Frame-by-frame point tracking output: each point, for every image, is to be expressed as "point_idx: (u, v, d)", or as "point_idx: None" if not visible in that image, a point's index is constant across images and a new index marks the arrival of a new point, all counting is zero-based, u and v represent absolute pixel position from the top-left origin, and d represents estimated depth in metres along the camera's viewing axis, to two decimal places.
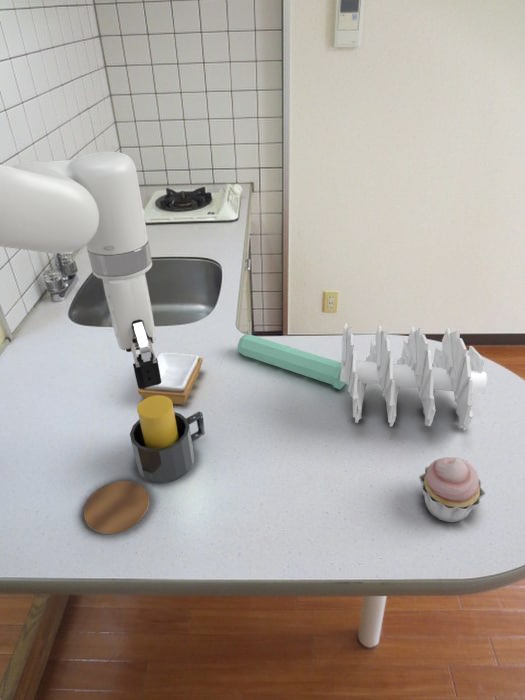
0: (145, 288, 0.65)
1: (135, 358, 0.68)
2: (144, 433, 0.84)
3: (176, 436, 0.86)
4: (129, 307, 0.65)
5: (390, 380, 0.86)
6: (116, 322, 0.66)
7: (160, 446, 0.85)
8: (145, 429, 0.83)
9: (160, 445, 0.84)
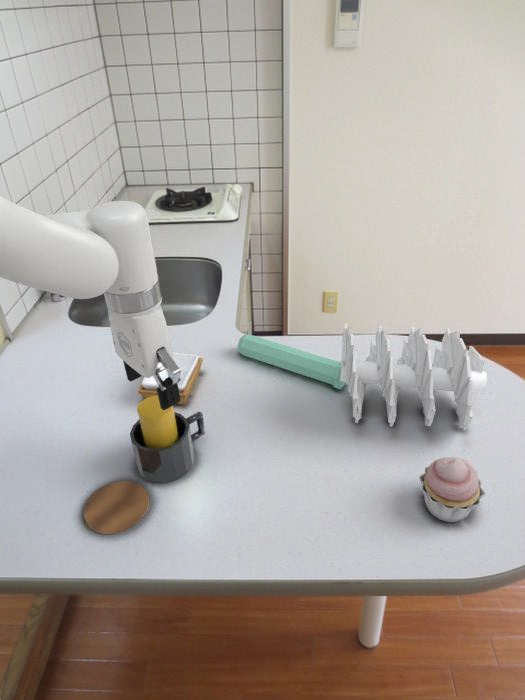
0: (164, 318, 0.72)
1: (161, 382, 0.75)
2: (144, 433, 0.84)
3: (176, 436, 0.86)
4: (154, 337, 0.71)
5: (390, 380, 0.86)
6: (143, 353, 0.72)
7: (160, 446, 0.85)
8: (145, 429, 0.83)
9: (160, 445, 0.84)
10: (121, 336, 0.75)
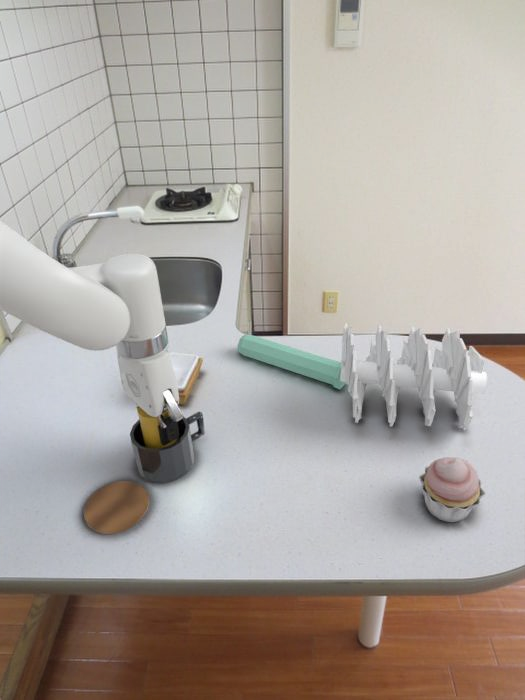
0: (170, 361, 0.76)
1: (163, 422, 0.80)
2: (144, 433, 0.84)
3: None
4: (161, 380, 0.75)
5: (390, 380, 0.86)
6: (150, 395, 0.76)
7: (160, 446, 0.85)
8: (145, 429, 0.83)
9: (160, 445, 0.84)
10: (129, 377, 0.79)
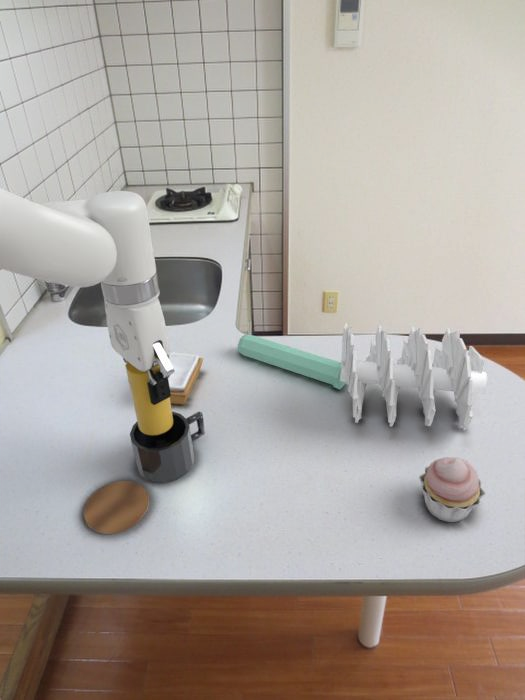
0: (161, 310, 0.71)
1: (153, 378, 0.75)
2: (133, 392, 0.79)
3: None
4: (151, 330, 0.71)
5: (390, 380, 0.86)
6: (139, 346, 0.71)
7: (150, 406, 0.80)
8: (134, 387, 0.78)
9: (150, 405, 0.79)
10: (117, 329, 0.74)
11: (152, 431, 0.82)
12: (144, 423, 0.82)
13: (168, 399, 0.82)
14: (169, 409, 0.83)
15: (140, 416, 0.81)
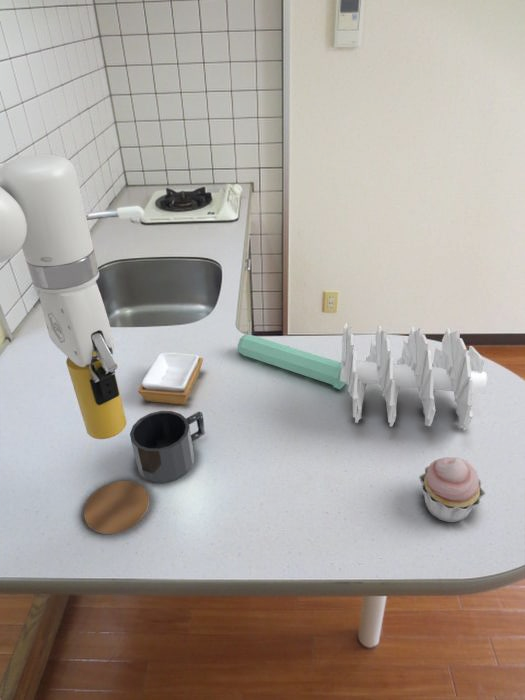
0: (100, 296, 0.61)
1: (94, 375, 0.65)
2: (76, 390, 0.69)
3: None
4: (87, 319, 0.61)
5: (390, 380, 0.86)
6: (74, 337, 0.61)
7: (95, 406, 0.70)
8: (76, 385, 0.68)
9: (96, 405, 0.70)
10: (52, 318, 0.64)
11: (100, 434, 0.73)
12: (90, 425, 0.72)
13: (118, 398, 0.72)
14: (120, 409, 0.73)
15: (85, 418, 0.72)
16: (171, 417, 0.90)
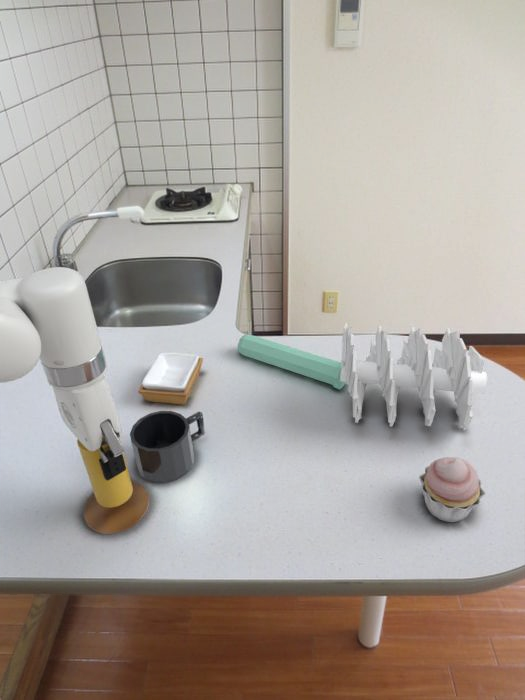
0: (108, 389, 0.67)
1: (103, 456, 0.71)
2: (86, 466, 0.75)
3: None
4: (97, 411, 0.66)
5: (390, 380, 0.86)
6: (85, 428, 0.67)
7: (104, 480, 0.75)
8: (86, 462, 0.74)
9: (105, 479, 0.75)
10: (64, 406, 0.69)
11: (109, 503, 0.78)
12: (100, 496, 0.78)
13: (125, 470, 0.78)
14: (126, 480, 0.79)
15: (95, 489, 0.77)
16: (171, 417, 0.90)
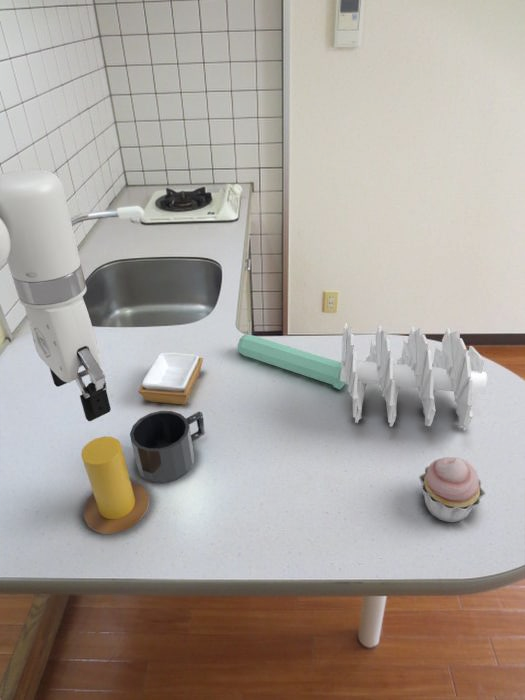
0: (87, 312, 0.61)
1: (84, 389, 0.63)
2: (90, 479, 0.76)
3: (126, 481, 0.79)
4: (73, 335, 0.60)
5: (390, 380, 0.86)
6: (59, 353, 0.60)
7: (108, 493, 0.77)
8: (90, 476, 0.76)
9: (108, 492, 0.77)
10: (38, 333, 0.63)
11: (112, 515, 0.80)
12: (103, 508, 0.79)
13: (128, 483, 0.79)
14: (129, 492, 0.80)
15: (98, 501, 0.79)
16: (171, 417, 0.90)
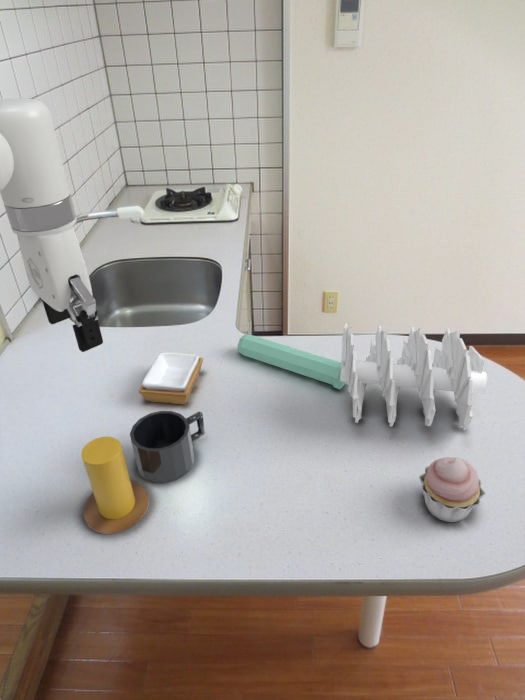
0: (77, 241, 0.63)
1: (76, 317, 0.65)
2: (90, 479, 0.76)
3: (126, 481, 0.79)
4: (64, 262, 0.62)
5: (390, 380, 0.86)
6: (51, 280, 0.63)
7: (108, 493, 0.77)
8: (90, 476, 0.76)
9: (108, 492, 0.77)
10: (31, 264, 0.65)
11: (112, 515, 0.80)
12: (103, 508, 0.79)
13: (128, 483, 0.79)
14: (129, 492, 0.80)
15: (98, 501, 0.79)
16: (171, 417, 0.90)
